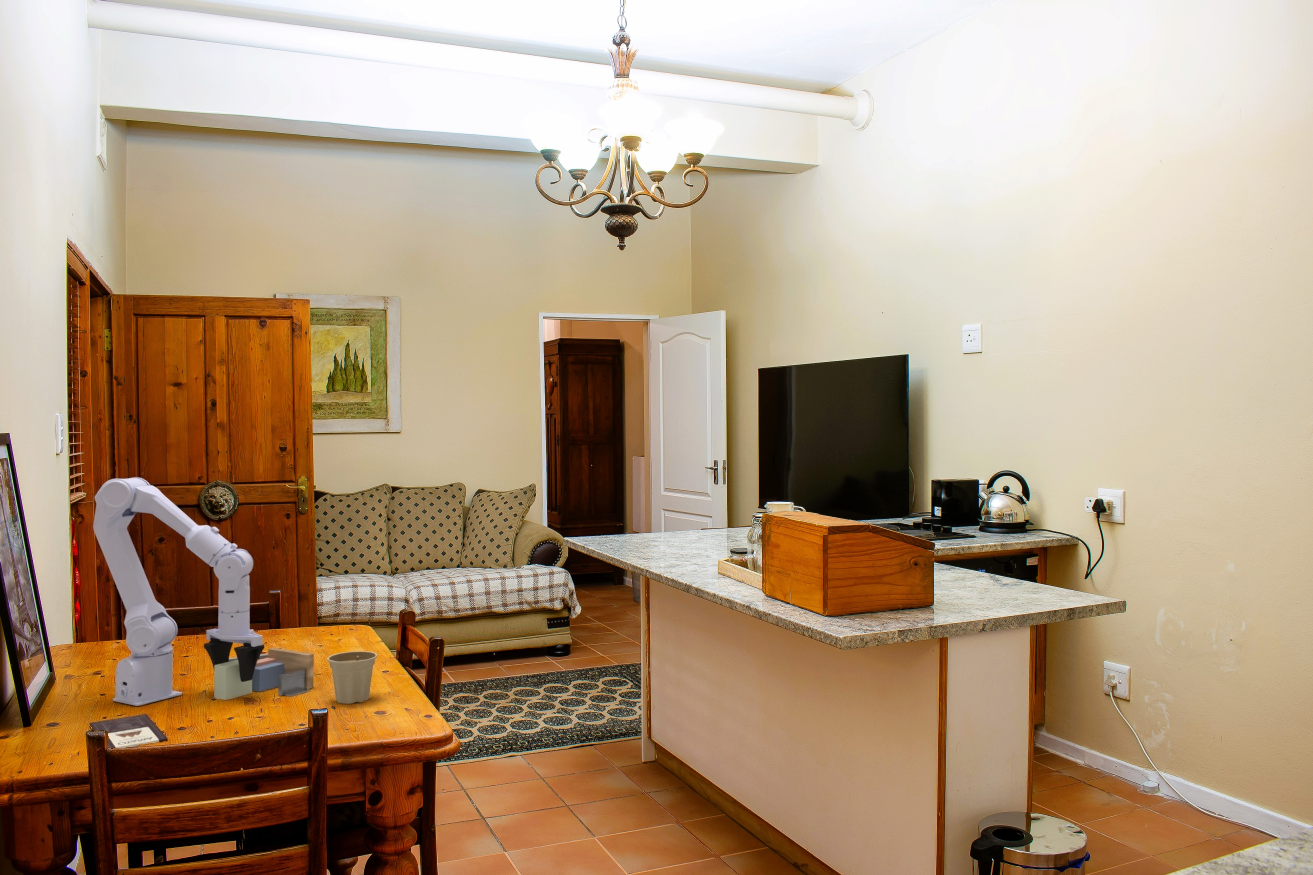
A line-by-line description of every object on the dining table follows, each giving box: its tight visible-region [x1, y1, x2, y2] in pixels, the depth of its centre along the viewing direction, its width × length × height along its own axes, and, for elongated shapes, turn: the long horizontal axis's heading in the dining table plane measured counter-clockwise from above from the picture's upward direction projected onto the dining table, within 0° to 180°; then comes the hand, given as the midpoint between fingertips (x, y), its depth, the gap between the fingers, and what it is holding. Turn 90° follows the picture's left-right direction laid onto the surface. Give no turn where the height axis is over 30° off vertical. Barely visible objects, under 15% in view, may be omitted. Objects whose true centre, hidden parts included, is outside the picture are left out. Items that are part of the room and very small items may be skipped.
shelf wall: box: [267, 647, 315, 689], centre depth 191 cm, size 2×12×7 cm, turn 62°
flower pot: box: [326, 650, 378, 705], centre depth 180 cm, size 9×9×9 cm
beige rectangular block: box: [213, 660, 253, 701], centre depth 183 cm, size 6×4×6 cm, turn 152°
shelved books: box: [252, 658, 284, 693], centre depth 189 cm, size 6×5×5 cm
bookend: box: [277, 669, 312, 698], centre depth 185 cm, size 6×3×4 cm, turn 152°
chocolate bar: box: [88, 713, 169, 749], centre depth 158 cm, size 9×1×18 cm
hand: (233, 678), depth 183 cm, fingers open, 7 cm apart
